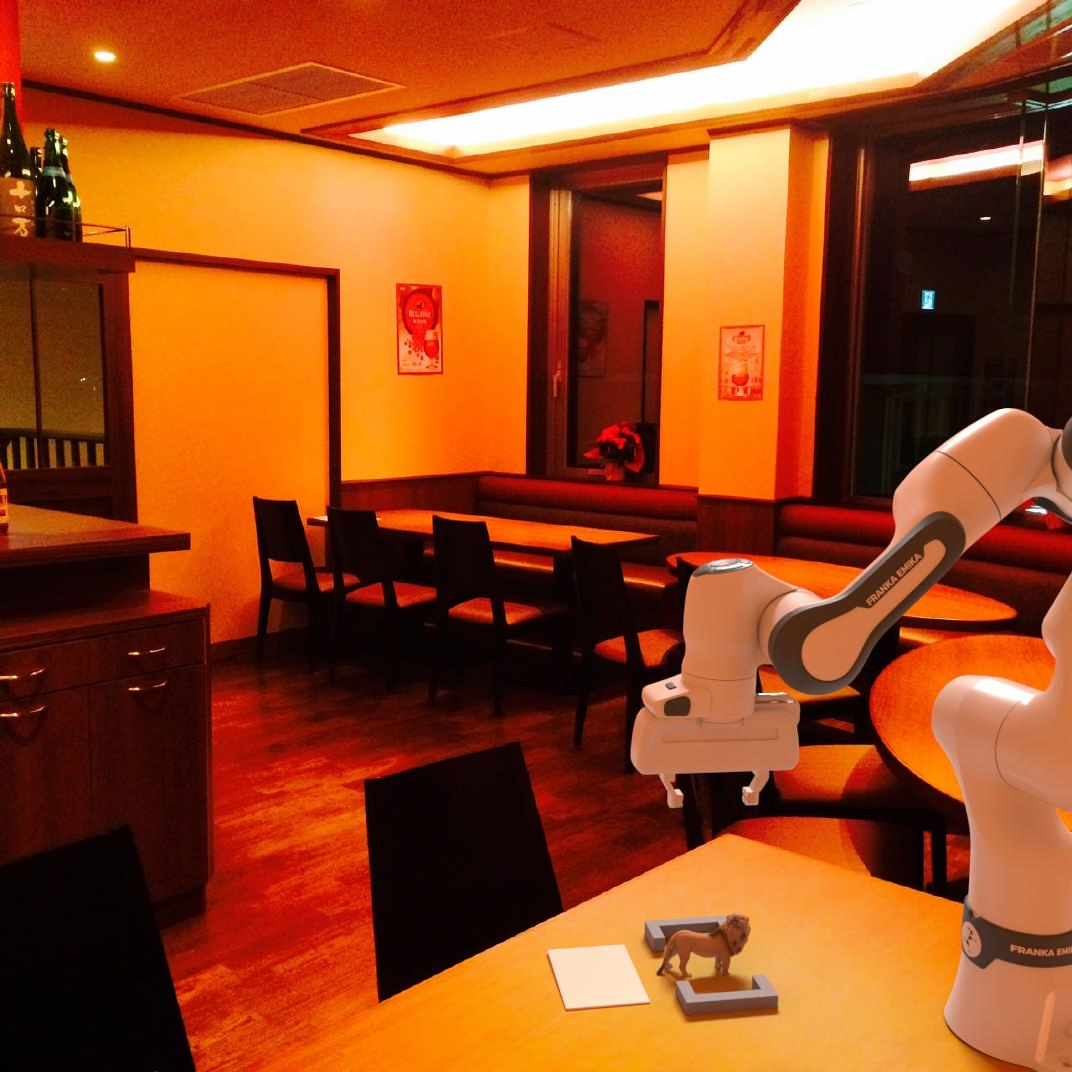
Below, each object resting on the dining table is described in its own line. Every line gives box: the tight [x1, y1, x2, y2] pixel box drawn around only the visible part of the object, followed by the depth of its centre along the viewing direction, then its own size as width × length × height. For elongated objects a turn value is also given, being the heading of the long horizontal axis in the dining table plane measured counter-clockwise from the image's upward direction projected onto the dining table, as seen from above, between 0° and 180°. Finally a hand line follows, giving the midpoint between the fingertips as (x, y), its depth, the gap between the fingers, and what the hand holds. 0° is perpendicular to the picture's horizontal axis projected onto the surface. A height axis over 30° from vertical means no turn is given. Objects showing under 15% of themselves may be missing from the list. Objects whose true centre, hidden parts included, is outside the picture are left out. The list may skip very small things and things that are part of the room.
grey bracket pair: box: [644, 915, 779, 1016], centre depth 133 cm, size 11×19×2 cm, turn 9°
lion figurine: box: [656, 911, 752, 979], centre depth 132 cm, size 12×4×7 cm, turn 101°
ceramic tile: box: [547, 944, 651, 1011], centre depth 131 cm, size 10×13×1 cm
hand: (712, 804), depth 130 cm, fingers open, 8 cm apart
